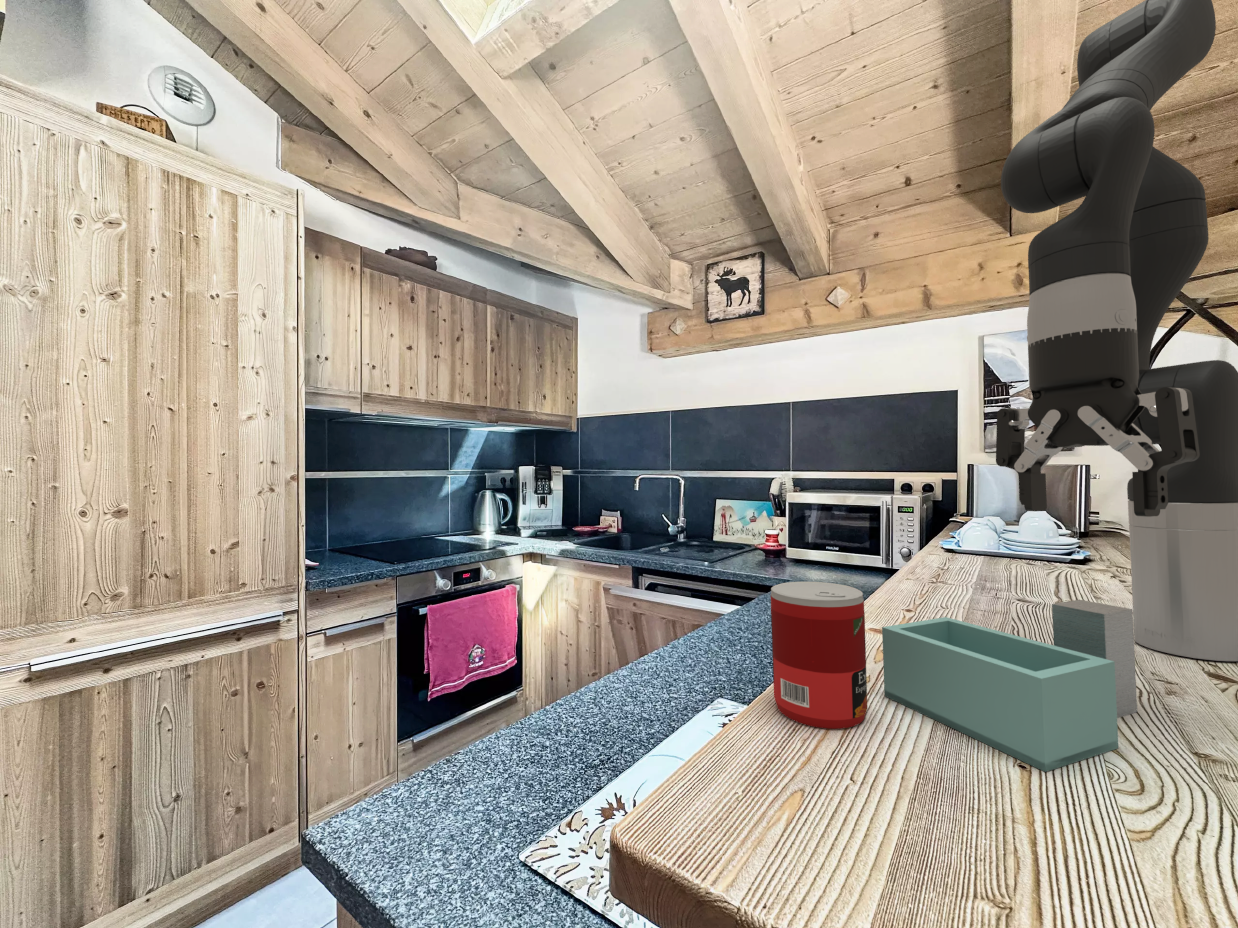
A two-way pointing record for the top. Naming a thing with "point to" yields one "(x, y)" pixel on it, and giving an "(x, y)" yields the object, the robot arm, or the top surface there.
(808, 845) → the top surface
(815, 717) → the canned food
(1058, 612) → the grey upright brick
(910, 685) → the box
